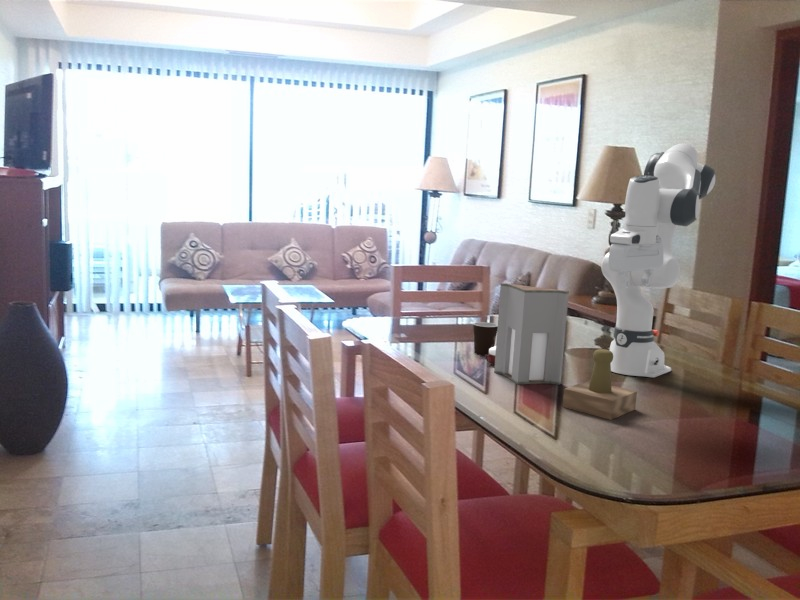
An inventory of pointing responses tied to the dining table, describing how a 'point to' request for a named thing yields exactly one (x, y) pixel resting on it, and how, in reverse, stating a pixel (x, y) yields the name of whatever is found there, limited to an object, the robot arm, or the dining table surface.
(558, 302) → the cabinet
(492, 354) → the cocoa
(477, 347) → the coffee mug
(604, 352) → the cork
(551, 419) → the dining table surface
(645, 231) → the robot arm
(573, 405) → the wooden block
